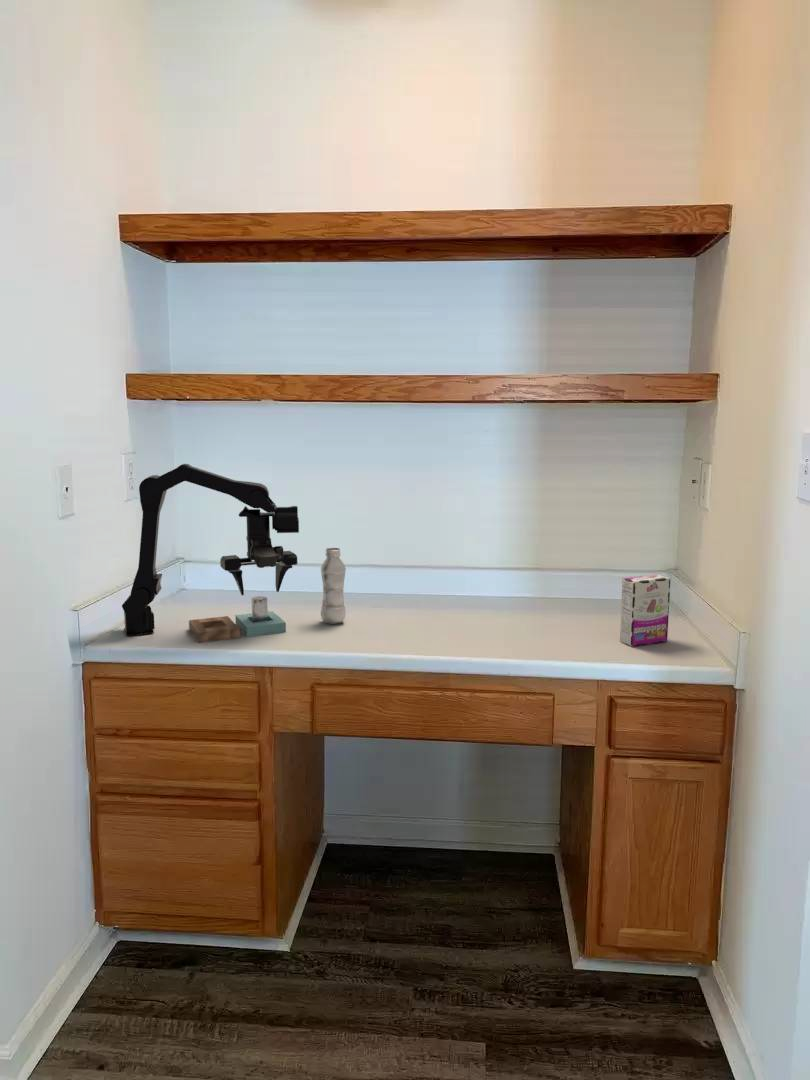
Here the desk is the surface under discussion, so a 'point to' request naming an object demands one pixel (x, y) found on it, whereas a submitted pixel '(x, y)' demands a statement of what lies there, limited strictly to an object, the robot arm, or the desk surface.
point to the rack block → (260, 625)
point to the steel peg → (259, 609)
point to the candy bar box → (645, 610)
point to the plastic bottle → (333, 587)
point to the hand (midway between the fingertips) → (260, 593)
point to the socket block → (213, 629)
